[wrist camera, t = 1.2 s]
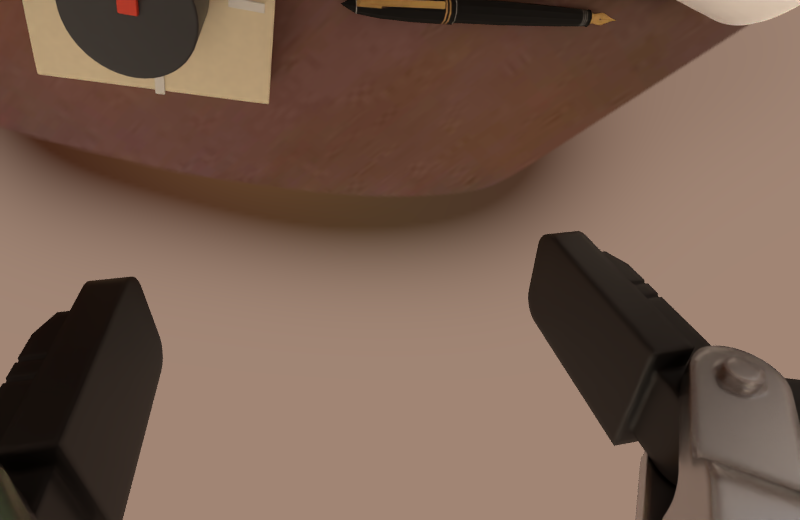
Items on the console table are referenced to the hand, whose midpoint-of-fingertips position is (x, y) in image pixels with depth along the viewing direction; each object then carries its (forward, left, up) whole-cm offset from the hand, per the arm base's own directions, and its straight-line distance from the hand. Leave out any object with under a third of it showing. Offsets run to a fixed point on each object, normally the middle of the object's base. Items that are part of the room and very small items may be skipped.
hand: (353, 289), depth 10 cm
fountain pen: (+9, +3, -18) cm, 20 cm away
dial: (-6, +2, -15) cm, 16 cm away
